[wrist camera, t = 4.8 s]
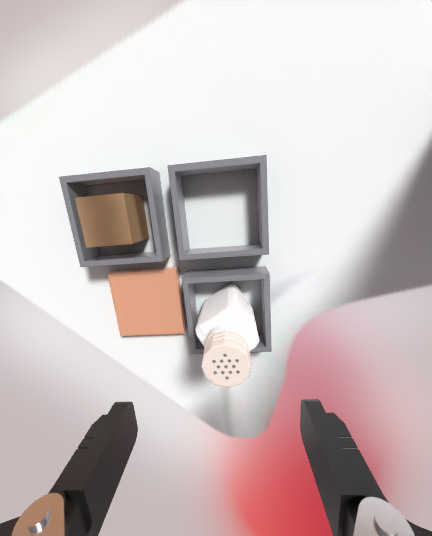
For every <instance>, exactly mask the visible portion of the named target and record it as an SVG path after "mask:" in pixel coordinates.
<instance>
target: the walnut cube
mask: <svg viewBox="0 0 432 536" xmlns="http://www.w3.org/2000/svg"><path fill="white" fill-rule="evenodd" d="M75 201H76V205H77V210H78V214H79V218H80V222H81V227H82V231H83V235H84V240H85V244H86V248H89V247H102V246H114V245H126V244H134V243H137V242H140V241H142V240H145V239H148V238H149V233H148V227H147V221H146V215H145V209H144V202H143V196H141V195H134V194H128V193H117V194H107V195H97V196H88V197H78V198H75Z"/></svg>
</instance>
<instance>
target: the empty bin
mask: <svg viewBox="0 0 432 536" xmlns="http://www.w3.org/2000/svg"><path fill="white" fill-rule="evenodd" d="M255 168H257V191H258V219H259V245H246V246H232V247H218V248H204V249H189V240H188V231H187V222H186V213H185V205H184V196H183V187H182V178H181V176H185V175H195V174H205V173H215V172H225V171H235V170H245V169H255ZM168 173H169V181H170V189H171V196H172V204H173V212H174V220H175V228H176V236H177V244H178V252H179V260H193V259H207V258H222V257H237V256H252V255H267V254H269V237H268V198H267V160H266V155H262V156H253V157H243V158H234V159H224V160H215V161H205V162H196V163H186V164H177V165H168Z"/></svg>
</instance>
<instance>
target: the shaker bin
mask: <svg viewBox="0 0 432 536" xmlns="http://www.w3.org/2000/svg"><path fill="white" fill-rule="evenodd" d="M259 279H261V303H262V330H263V333H258V337H259V343H258V344H257V346H256V347H255V348H254V349H252V350H251V351H250V352H271V315H270V276H269V272H268V270H267V268H266V267H265V266H264V267H248V268H232V269H216V270H200V271H187V272H186V274H185V275H184V276H183V278H182V284H183V292H184V300H185V308H186V316H187V324H188V332H189V340H190V348H191V354H204V346H203V344H202V343H201V341H200V340H199V338H198V337H197V334H196V329H195V328H196V325H197V322H198V320H197V311H196V302H195V293H194V284H193V283H208V282H225V281H242V280H259Z"/></svg>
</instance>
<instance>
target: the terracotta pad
mask: <svg viewBox="0 0 432 536" xmlns="http://www.w3.org/2000/svg"><path fill="white" fill-rule="evenodd" d="M108 279H109V283H110V288H111V293H112V298H113V302H114V307H115V312H116V317H117V322H118V326H119V331H120V336H131V335H157V334H183V333H185V330H186V327H185V319H184V311H183V304H182V296H181V288H180V280H179V273H178V267H172V268H156V269H141V270H126V271H111V272H109V273H108Z"/></svg>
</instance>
